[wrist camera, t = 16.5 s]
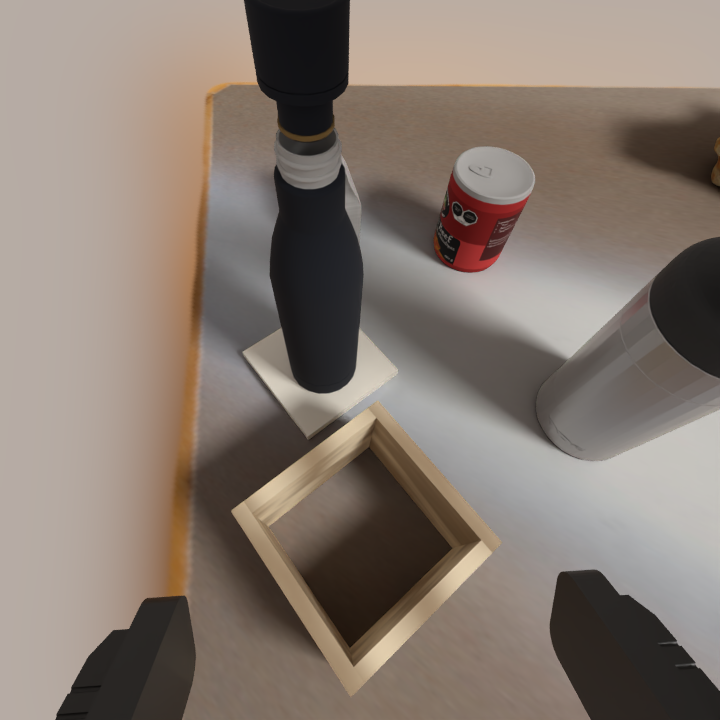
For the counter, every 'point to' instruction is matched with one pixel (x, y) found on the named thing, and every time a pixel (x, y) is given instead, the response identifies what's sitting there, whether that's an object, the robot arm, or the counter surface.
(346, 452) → the pine crate
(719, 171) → the rough brown rock
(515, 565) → the counter surface
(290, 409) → the cream tile
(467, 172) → the canned food
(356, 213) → the white paper bag
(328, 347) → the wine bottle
